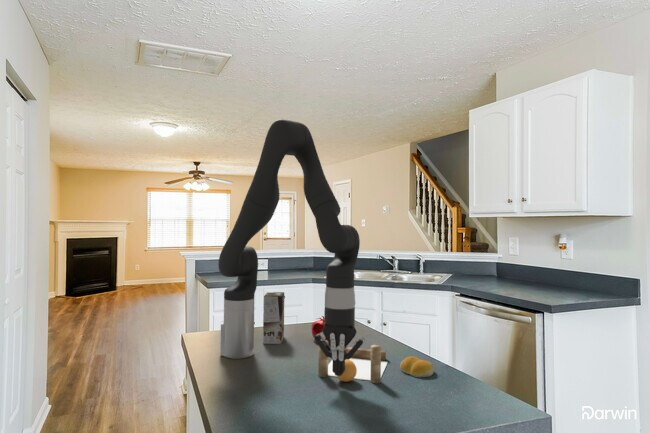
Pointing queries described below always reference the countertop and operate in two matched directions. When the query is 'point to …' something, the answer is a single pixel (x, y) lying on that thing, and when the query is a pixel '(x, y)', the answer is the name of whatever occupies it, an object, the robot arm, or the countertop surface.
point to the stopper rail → (365, 353)
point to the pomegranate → (318, 327)
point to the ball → (348, 371)
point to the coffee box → (273, 318)
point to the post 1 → (322, 364)
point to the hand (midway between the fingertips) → (338, 374)
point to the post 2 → (375, 363)
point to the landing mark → (359, 368)
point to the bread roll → (416, 367)
